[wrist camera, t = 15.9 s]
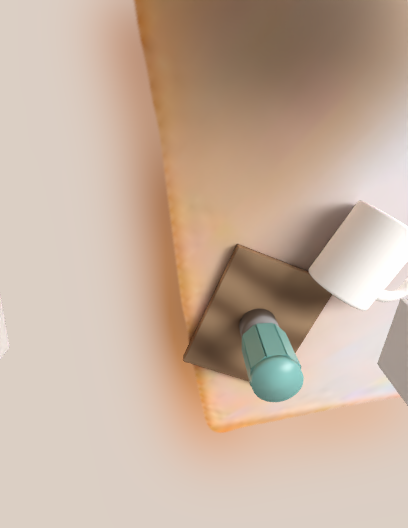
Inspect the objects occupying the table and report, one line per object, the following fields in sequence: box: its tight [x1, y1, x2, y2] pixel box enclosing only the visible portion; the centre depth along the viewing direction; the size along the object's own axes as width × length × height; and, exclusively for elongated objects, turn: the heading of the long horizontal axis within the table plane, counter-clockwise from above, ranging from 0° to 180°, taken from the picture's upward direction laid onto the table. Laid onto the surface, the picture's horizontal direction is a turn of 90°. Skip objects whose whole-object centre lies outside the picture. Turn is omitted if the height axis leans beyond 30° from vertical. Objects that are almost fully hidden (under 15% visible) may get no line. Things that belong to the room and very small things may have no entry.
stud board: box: [183, 244, 332, 381], centre depth 43 cm, size 18×14×10 cm
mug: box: [309, 200, 408, 310], centre depth 41 cm, size 12×10×8 cm
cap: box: [242, 323, 303, 402], centre depth 40 cm, size 5×5×7 cm
